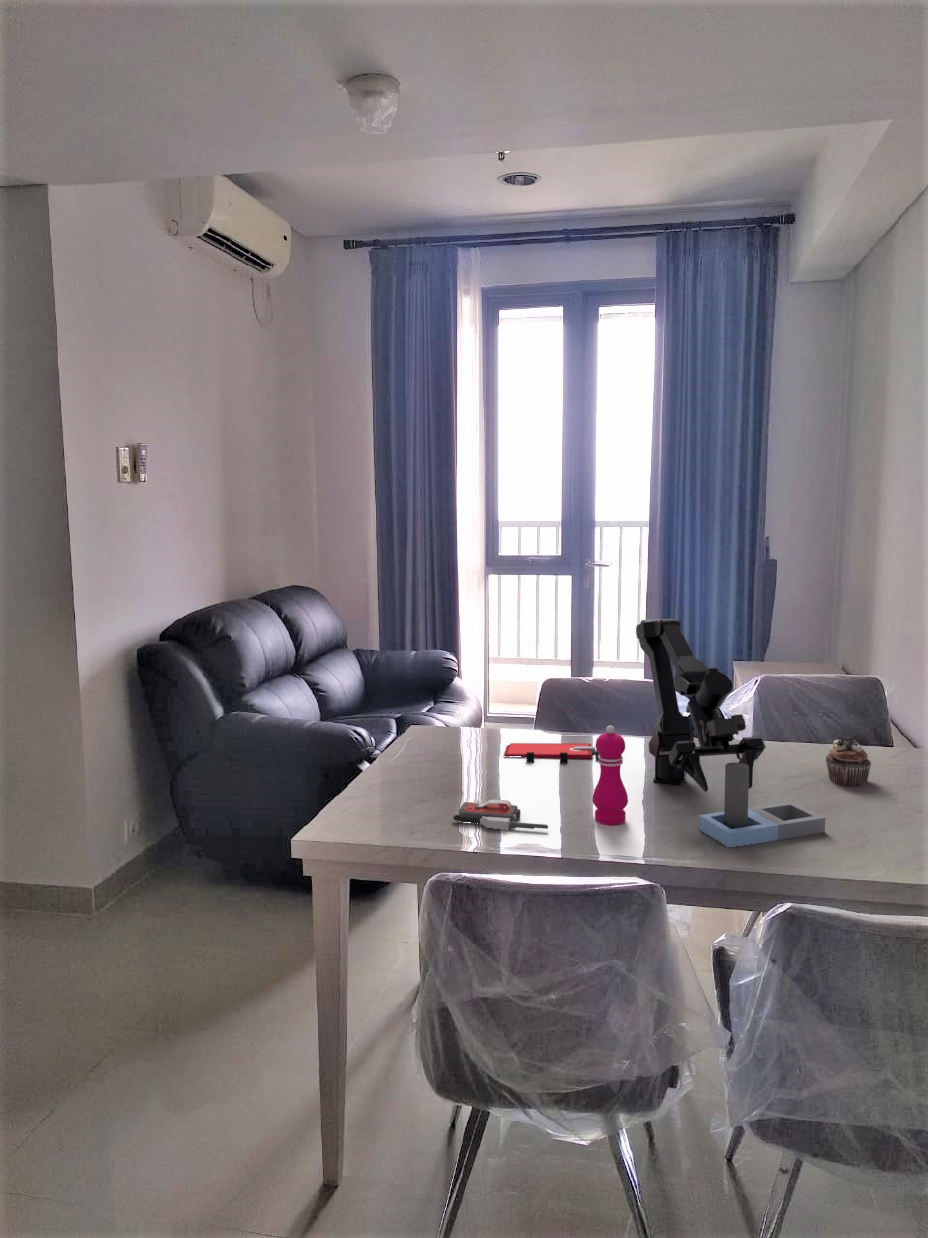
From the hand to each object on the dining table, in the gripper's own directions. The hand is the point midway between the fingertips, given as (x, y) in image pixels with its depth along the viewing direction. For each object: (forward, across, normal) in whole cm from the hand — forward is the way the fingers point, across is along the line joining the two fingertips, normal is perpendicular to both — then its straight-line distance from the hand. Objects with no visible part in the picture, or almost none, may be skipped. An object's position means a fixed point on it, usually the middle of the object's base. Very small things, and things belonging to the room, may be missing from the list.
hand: (728, 789), depth 172 cm
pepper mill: (0, -21, +12) cm, 25 cm away
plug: (+8, 0, +3) cm, 9 cm away
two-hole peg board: (+8, +6, +4) cm, 10 cm away
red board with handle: (-33, -19, +47) cm, 60 cm away
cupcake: (-10, +40, +22) cm, 46 cm away
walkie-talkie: (-2, -44, +15) cm, 46 cm away
